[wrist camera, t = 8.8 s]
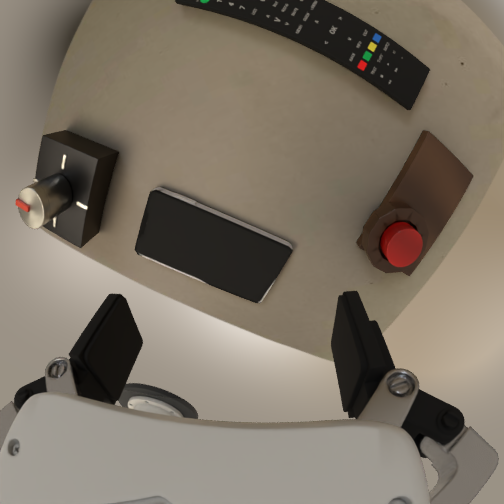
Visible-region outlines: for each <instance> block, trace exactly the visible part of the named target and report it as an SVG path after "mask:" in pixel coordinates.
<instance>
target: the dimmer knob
mask: <svg viewBox="0 0 504 504" xmlns="http://www.w3.org/2000/svg"><path fill="white" fill-rule="evenodd" d="M71 202H72V190H71V187H70V184H69V182H68V181H67V179H66V178H65V177H64V176H62V175H60V174H53V175H51V176H49V177H47V178H44V179H42V180H40V181H38V182H36V183H34V184H32V185H30V186H27V187H25V188H24V189H22V190H21V192H20V194H19V197H18V199H16V205H17V206H18V209H19V213H20V216H21V218H22V220H23V221H24V222H25V224H26V225H27V226H28V227H30V228H32V229H38V228H40V227H42V226H43V225H45V224H46V223H47V222H49V221H50V220H52V219H53V218H55V217H56V216H58V215H59V214H61V213H62V212H64V211H66V210H67V209H68V208H69V206H70V205H71Z"/></svg>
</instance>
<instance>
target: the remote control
mask: <svg viewBox="0 0 504 504" xmlns="http://www.w3.org/2000/svg"><path fill="white" fill-rule="evenodd" d="M175 2H176V3H177V4H181V5H186V6H191V7H196V8H200V9H204V10H208V11H212V12H216V13H219V14H223V15H226V16H230V17H233V18H236V19H239V20H242V21H245V22H248V23H251V24H254V25H257V26H259V27H262V28H265V29H267V30H270V31H272V32H275V33H277V34H280V35H282V36H284V37H287V38H289V39H291V40H293V41H296V42H298V43H300V44H302V45H304V46H306V47H308V48H310V49H312V50H314V51H316V52H318V53H320V54H322V55H324V56H326V57H328V58H330V59H331V60H333V61H335V62H337V63H338V64H340V65H342V66H344V67H345V68H347V69H349V70H350V71H352V72H354V73H355V74H357V75H359V76H360V77H362V78H363V79H365V80H366V81H368V82H369V83H371V84H372V85H374V86H375V87H377V88H378V89H380V90H381V91H383V92H384V93H385V94H387V95H388V96H390V97H391V98H392V99H394V100H395V101H396V102H398V103H399V104H400V105H402V106H403V107H404V108H405V109H407V110H411V108H412V106H413V104H414V102H415V100H416V98H417V96H418V94H419V92H420V90H421V88H422V86H423V84H424V82H425V80H426V77H427V75H428V73H429V71H430V69H429V68H428V67H427V66H425V65H424V64H423V63H422V62H421V61H419V60H418V59H417V58H416V57H414V56H413V55H412V54H411V53H409V52H408V51H407V50H405V49H404V48H403V47H401V46H400V45H399V44H397V43H396V42H395V41H393V40H392V39H390V38H389V37H387V36H386V35H384V34H383V33H381V32H380V31H378V30H377V29H375V28H374V27H372V26H370V25H369V24H367V23H366V22H364V21H362V20H361V19H359V18H357V17H355V16H354V15H352V14H350V13H348V12H346V11H345V10H343V9H341V8H339V7H337V6H335V5H333V4H331V3H329V2H327V1H325V0H175Z"/></svg>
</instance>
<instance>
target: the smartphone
mask: <svg viewBox="0 0 504 504" xmlns="http://www.w3.org/2000/svg"><path fill="white" fill-rule="evenodd" d="M135 251H136V252H137V254H138V255H140V256H143V257H145V258H147V259H149V260H152V261H154V262H156V263H158V264H161V265H163V266H165V267H168V268H170V269H172V270H175V271H177V272H180V273H182V274H184V275H187V276H189V277H192V278H194V279H196V280H199V281H201V282H204V283H206V284H209V285H211V286H214V287H216V288H219V289H221V290H224V291H226V292H229V293H231V294H234V295H236V296H239V297H241V298H244V299H247V300H249V301H252V302H255V303H261V302H262V301H263V299H264V297H265V296H266V294H267V293H268V291H269V289H270V288H271V286H272V285H273V283H274V281H275V280H276V278H277V276H278V275H279V273H280V272H281V270H282V268H283V267H284V265H285V263H286V262H287V260H288V258H289V257H290V255H291V253H292V251H293V249H292V245H291V244H290V243H289V242H287V241H285V240H283V239H281V238H278V237H276V236H274V235H272V234H269V233H267V232H265V231H263V230H260V229H258V228H256V227H253V226H251V225H249V224H247V223H244V222H242V221H240V220H237V219H235V218H233V217H230V216H228V215H226V214H223V213H221V212H219V211H216V210H214V209H212V208H209V207H207V206H205V205H202V204H200V203H197V201H194V200H192V199H190V198H187V197H185V196H182V195H180V194H178V193H173V192H171V191H169V190H166V189H164V188H161V187H157V188H155V189H153V190H152V191H150V194H149V197H148V201H147V204H146V208H145V211H144V215H143V218H142V222H141V226H140V230H139V234H138V238H137V242H136V246H135Z"/></svg>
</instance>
